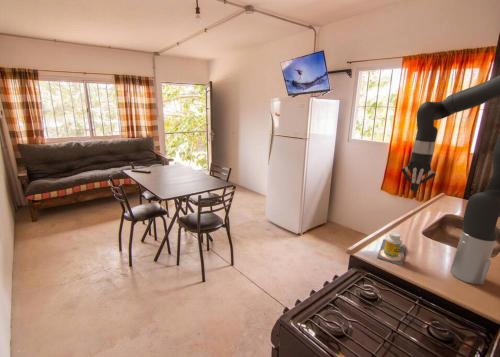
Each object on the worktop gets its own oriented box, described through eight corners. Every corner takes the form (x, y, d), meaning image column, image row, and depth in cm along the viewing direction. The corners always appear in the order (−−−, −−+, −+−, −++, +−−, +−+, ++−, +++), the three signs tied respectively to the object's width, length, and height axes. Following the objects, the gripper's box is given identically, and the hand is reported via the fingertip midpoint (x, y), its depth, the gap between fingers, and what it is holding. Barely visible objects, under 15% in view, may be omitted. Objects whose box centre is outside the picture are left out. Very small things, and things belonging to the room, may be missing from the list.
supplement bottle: (387, 249, 110) (392, 229, 108) (400, 256, 106) (405, 235, 103) (380, 253, 108) (385, 232, 105) (393, 259, 103) (398, 238, 101)
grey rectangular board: (405, 246, 115) (406, 240, 115) (401, 265, 101) (403, 259, 100) (383, 240, 120) (384, 234, 119) (376, 257, 106) (378, 251, 105)
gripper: (403, 150, 108) (395, 190, 113) (442, 155, 101) (431, 196, 106) (405, 148, 114) (397, 186, 119) (441, 152, 107) (431, 192, 112)
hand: (413, 191), depth 112 cm, fingers closed
